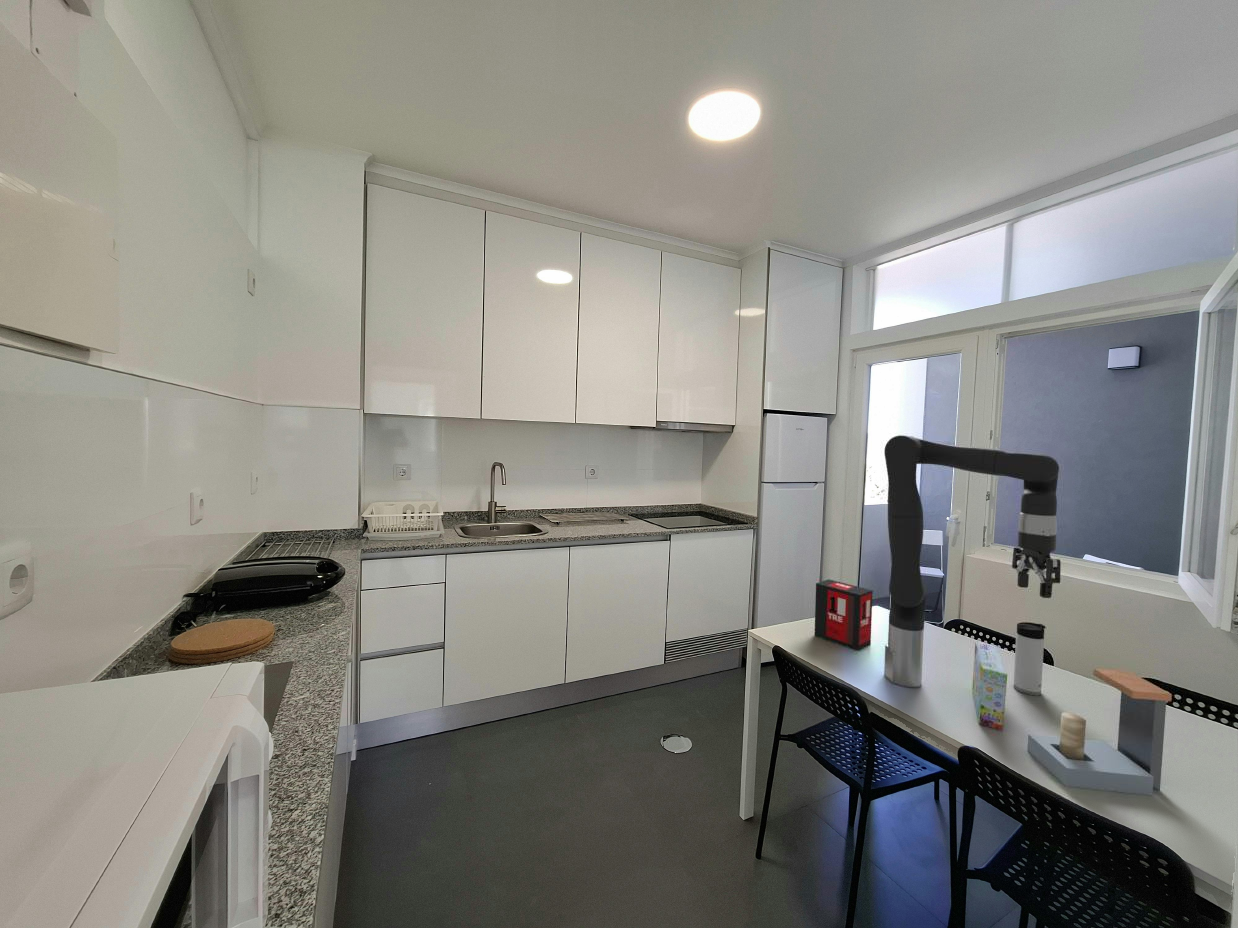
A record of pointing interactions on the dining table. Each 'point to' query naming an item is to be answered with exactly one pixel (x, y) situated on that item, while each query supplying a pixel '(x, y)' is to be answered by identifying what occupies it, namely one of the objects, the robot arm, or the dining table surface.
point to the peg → (1072, 736)
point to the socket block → (1092, 766)
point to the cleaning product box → (843, 614)
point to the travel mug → (1029, 658)
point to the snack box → (989, 685)
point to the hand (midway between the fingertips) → (1033, 592)
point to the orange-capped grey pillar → (1139, 719)
